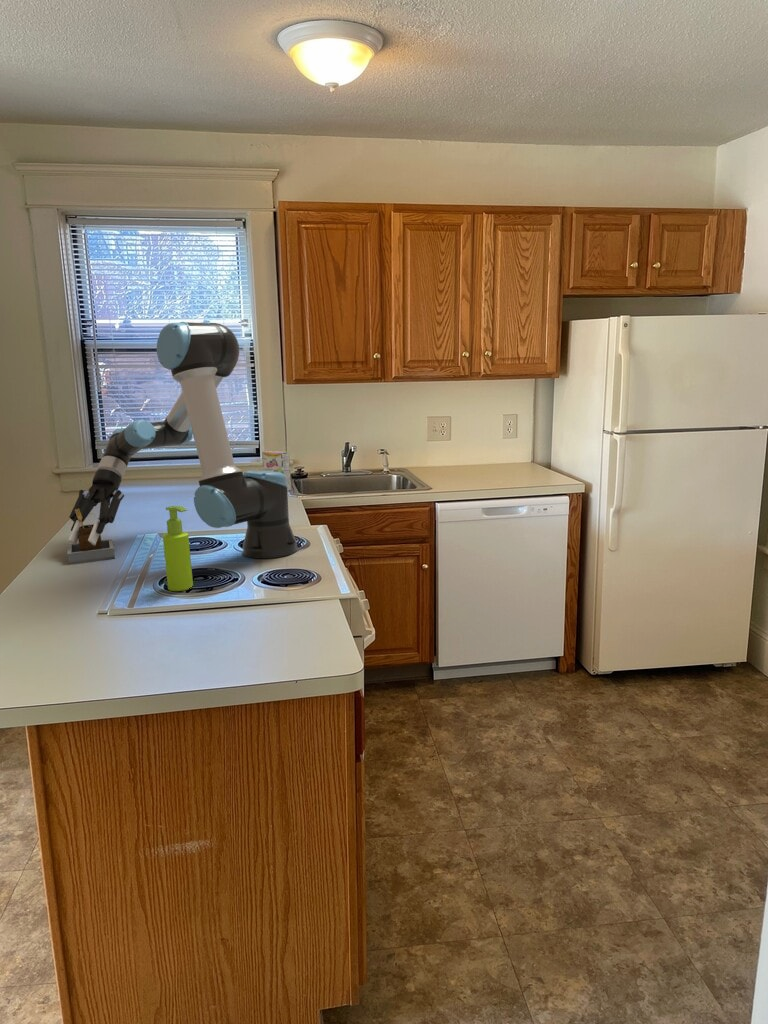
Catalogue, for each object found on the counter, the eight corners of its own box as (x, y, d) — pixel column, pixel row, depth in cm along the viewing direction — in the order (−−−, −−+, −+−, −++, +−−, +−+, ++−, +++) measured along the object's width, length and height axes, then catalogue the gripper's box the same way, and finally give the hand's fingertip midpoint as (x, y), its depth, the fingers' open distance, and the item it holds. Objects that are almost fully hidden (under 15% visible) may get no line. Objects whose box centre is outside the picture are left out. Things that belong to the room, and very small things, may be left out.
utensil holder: (92, 553, 198) (86, 511, 196) (74, 552, 200) (68, 511, 198) (107, 548, 204) (101, 507, 201) (89, 546, 206) (84, 506, 203)
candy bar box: (263, 490, 298) (261, 452, 295) (271, 488, 302) (269, 450, 299) (284, 492, 292) (281, 453, 289) (292, 490, 296) (289, 451, 293)
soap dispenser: (182, 593, 167) (174, 510, 162) (162, 589, 170) (154, 507, 166) (201, 586, 171) (193, 505, 167) (181, 582, 175) (173, 503, 171)
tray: (114, 558, 199) (113, 548, 199) (68, 564, 195) (67, 553, 194) (113, 548, 210) (112, 539, 209) (69, 554, 206) (68, 544, 205)
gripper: (143, 482, 211) (117, 549, 199) (88, 482, 215) (60, 548, 203) (131, 467, 205) (104, 536, 193) (75, 467, 209) (45, 535, 197)
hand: (81, 542), depth 198 cm, fingers closed on utensil holder, 5 cm apart
